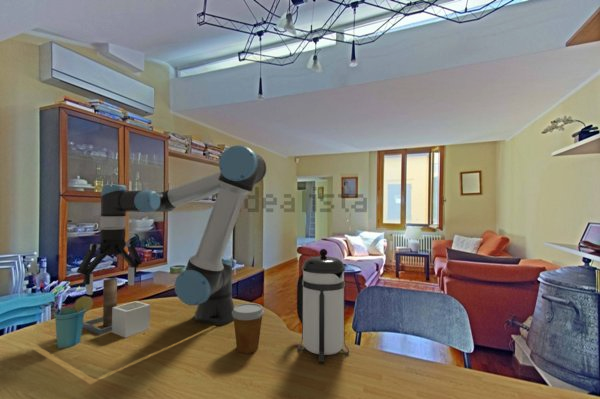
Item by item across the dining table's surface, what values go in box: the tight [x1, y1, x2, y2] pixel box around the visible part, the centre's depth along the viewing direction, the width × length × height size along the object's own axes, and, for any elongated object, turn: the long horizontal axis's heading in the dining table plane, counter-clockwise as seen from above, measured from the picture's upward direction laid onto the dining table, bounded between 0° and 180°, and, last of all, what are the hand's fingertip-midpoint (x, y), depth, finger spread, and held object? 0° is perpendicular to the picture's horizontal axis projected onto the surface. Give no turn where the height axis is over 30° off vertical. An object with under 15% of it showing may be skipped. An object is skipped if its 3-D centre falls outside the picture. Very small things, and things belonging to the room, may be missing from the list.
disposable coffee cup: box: [232, 302, 265, 354], centre depth 87 cm, size 10×10×12 cm
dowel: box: [102, 278, 118, 328], centre depth 101 cm, size 4×4×16 cm
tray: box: [82, 316, 112, 336], centre depth 101 cm, size 12×12×2 cm
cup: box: [38, 295, 95, 349], centre depth 86 cm, size 14×8×15 cm, turn 161°
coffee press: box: [296, 248, 350, 365], centre depth 86 cm, size 17×16×30 cm
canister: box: [111, 300, 151, 338], centre depth 96 cm, size 8×8×9 cm
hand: (111, 289), depth 101 cm, fingers open, 13 cm apart
